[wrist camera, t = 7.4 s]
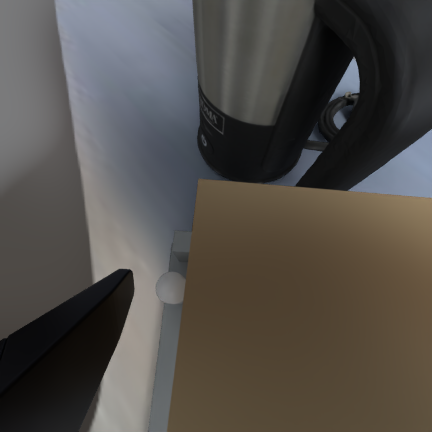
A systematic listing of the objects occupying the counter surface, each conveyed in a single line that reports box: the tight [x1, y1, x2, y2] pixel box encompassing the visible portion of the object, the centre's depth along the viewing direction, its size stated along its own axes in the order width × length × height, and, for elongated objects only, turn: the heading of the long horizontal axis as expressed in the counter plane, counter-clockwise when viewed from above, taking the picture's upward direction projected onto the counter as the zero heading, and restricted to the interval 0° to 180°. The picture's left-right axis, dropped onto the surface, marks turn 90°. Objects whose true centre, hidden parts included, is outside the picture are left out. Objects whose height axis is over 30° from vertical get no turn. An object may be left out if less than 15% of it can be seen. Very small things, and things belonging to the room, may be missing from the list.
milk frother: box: [192, 0, 432, 191], centre depth 14 cm, size 14×16×15 cm
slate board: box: [148, 231, 192, 432], centre depth 13 cm, size 12×9×4 cm
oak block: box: [167, 179, 432, 432], centre depth 9 cm, size 6×4×12 cm
